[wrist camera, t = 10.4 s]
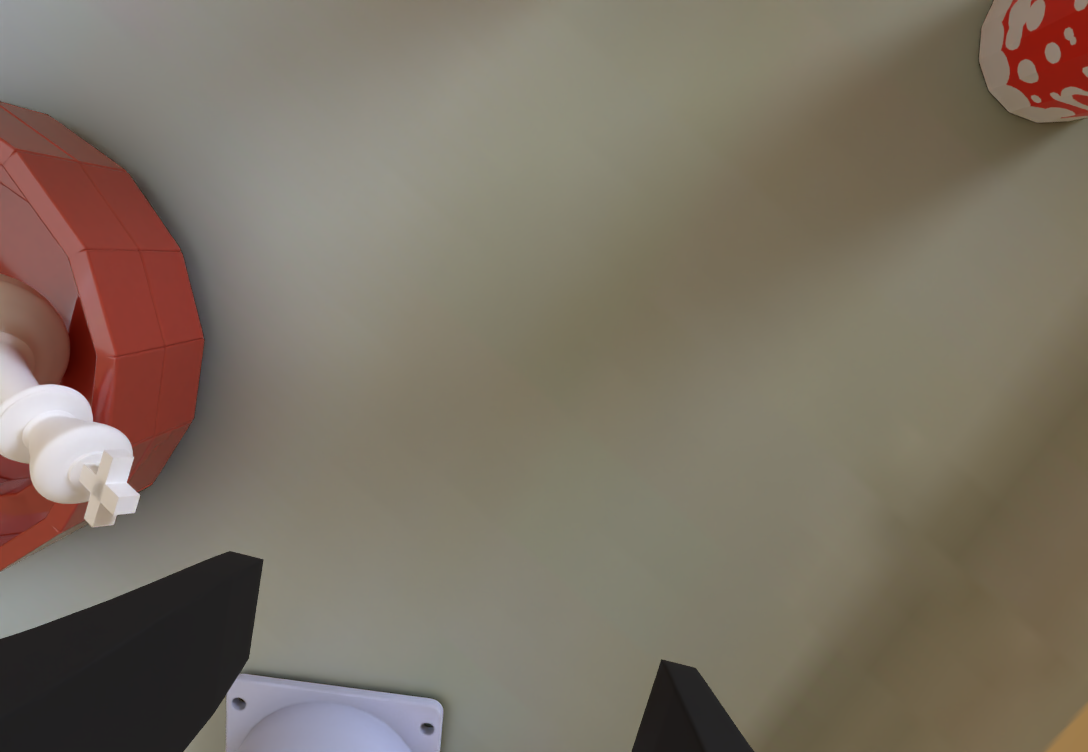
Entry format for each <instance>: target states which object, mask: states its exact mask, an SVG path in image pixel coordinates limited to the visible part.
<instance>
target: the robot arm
mask: <svg viewBox="0 0 1088 752" xmlns="http://www.w3.org/2000/svg"><path fill="white" fill-rule="evenodd" d="M262 565H263V559H259V558H255V557H251V556H247V555H243V554H239V553H235V552H231V551H229V552H226V553H224V554H221V555H218V556H215V557H213V558H210V559H208V560H205V561H203V562H200V563H198V564H196V565H193V566H191V567H188V568H186V569H184V570H181V571H179V572H176V573H174V574H172V575H169V576H167V577H165V578H162V579H160V580H157V581H155V582H152V583H150V584H148V585H145V586H143V587H140V588H138V589H135V590H133V591H130V592H128V593H126V594H123V595H121V596H118V597H116V598H113V599H111V600H108V601H106V602H103V603H100V604H98V605H95V606H92V607H90V608H87V609H84V610H81V611H79V612H76V613H73V614H71V615H68V616H65V617H63V618H60V619H57V620H54V621H52V622H49V623H46V624H44V625H41V626H38V627H36V628H33V629H30V630H27V631H24V632H21V633H18V634H15V635H12V636H9V637H5V638H2V639H0V752H183V751H184V750H185V749H186V748H187V746H188V745H189V744H190V743H191V741H192V740H193V739H194V738H195V736H196V735H197V734H198V733H199V731H200V730H201V729H202V728H203V726H204V725H205V724H206V723H207V721H208V720H209V719H210V718H211V716H212V715H213V714H214V712H215V711H216V709H217V708H218V706H219V705H220V703H221V702H222V700H223V699H224V697H225V696H226V752H440V746H441V735H442V723H443V707H442V705H441V704H440V703H439V702H438V701H437V700H434V699H431V698H423V697H416V696H408V695H401V694H393V693H386V692H378V691H371V690H363V689H356V688H348V687H341V686H333V685H326V684H318V683H310V682H303V681H295V680H288V679H280V678H273V677H265V676H258V675H250V674H239V673H240V672H241V670H242V669H243V667H244V665H245V664H246V662H247V660H248V659H249V654H250V647H251V640H252V633H253V627H254V620H255V613H256V606H257V599H258V593H259V586H260V579H261V572H262ZM238 698H241V699H243V700H244V701H245V703H244V702H241V701H240V700H239V699H238ZM423 723H429V724H431V725H432V726H433V727H427V726H425V725H424V724H423ZM632 752H754V751H753V749H752V748H751V747H750V745H749V744H748V742H747V741H746V740H745V738H744V737H743V735H742V734H741V733H740V731H739V730H738V728H737V727H736V725H735V724H734V722H733V721H732V720H731V718H730V717H729V715H728V714H727V712H726V711H725V709H724V708H723V706H722V705H721V704H720V702H719V701H718V699H717V698H716V696H715V695H714V693H713V692H712V690H711V689H710V687H709V686H708V685H707V683H706V682H705V680H704V679H703V677H702V676H701V675H700V673H699V672H698V671H697V669H696V668H694V667H690V666H686V665H682V664H678V663H674V662H670V661H666V660H662V659H661V663H660V666H659V669H658V672H657V675H656V678H655V681H654V684H653V687H652V690H651V693H650V696H649V700H648V703H647V706H646V709H645V712H644V715H643V718H642V721H641V724H640V727H639V730H638V733H637V737H636V740H635V743H634V746H633V749H632Z"/></svg>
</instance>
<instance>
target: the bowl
mask: <svg viewBox="0 0 1088 752" xmlns="http://www.w3.org/2000/svg"><path fill="white" fill-rule="evenodd" d="M180 251H181V249H180V247H179V246H178V244H177V243H176V241H175V240H174V239H173V237H172V236H171V234H170V233H169V231H168V230H167V228H166V227H165V225H164V224H163V222H162V221H161V220H160V218H159V217H158V215H157V214H156V212H155V211H154V209H153V208H152V206H151V205H150V204H149V202H148V201H147V199H146V198H145V196H144V195H143V193H142V192H141V190H140V189H139V188H138V186H137V185H136V183H135V182H134V180H133V179H132V177H131V176H130V174H129V173H127V171H126V170H125V169H123V168H122V167H121V166H119V165H118V164H116V163H115V162H114V161H112V160H111V159H109V158H108V157H107V156H105V155H104V154H103V153H101V152H100V151H98V150H97V149H96V148H94V147H93V146H91V145H90V144H89V143H87V142H86V141H84V140H83V139H82V138H80V137H79V136H77V135H76V134H75V133H73V132H72V131H70V130H69V129H68V128H66V127H65V126H63V125H62V124H61V123H59V122H58V121H56V120H55V119H54V118H52V117H51V116H49V115H47V114H44V113H41V112H37V111H33V110H30V109H26V108H22V107H19V106H15V105H11V104H8V103H4V102H0V274H3V275H6V276H9V277H12V278H14V279H17V280H19V281H21V282H23V283H25V284H27V285H28V286H30V287H32V288H33V289H35V290H36V291H37V292H39V293H40V294H41V295H42V296H43V297H45V298H46V299H47V300H48V301H49V303H50V304H51V305H52V306H53V307H54V309H55V310H56V312H57V313H58V314H59V316H60V317H61V319H62V321H63V322H64V324H65V327H66V329H67V332H68V335H69V340H70V357H69V362H68V366H67V369H66V371H65V374H64V376H63V378H62V379H61V381H60V383H59V384H58V385H62V386H66V387H69V388H72V389H74V390H76V391H78V392H79V393H81V394H82V395H83V396H84V397H85V398H86V399H87V401H88V402H89V404H90V407H91V410H92V415H93V422H97V423H101V424H105V425H109V426H111V427H114V428H116V429H118V430H119V431H121V432H122V433H123V434H124V435H125V436H126V437H127V438H128V440H129V441H130V443H131V446H132V450H133V457H134V460H133V463H132V466H131V470H130V473H129V476H128V480H127V483H128V484H129V485H130V486H131V487H132V488H133V489H134V490H135V491H136V492H137V493H140V492H141V491H143V490H144V489H146V488H148V487H149V486H151V485H152V484H153V483H154V481H155V480H156V478H157V477H158V475H159V473H160V472H161V470H162V469H163V467H164V465H165V464H166V462H167V461H168V459H169V458H170V456H171V454H172V453H173V451H174V450H175V448H176V446H177V445H178V443H179V442H180V440H181V438H182V437H183V435H184V434H185V432H186V431H187V429H188V427H189V426H190V424H191V423H192V420H193V419H194V415H195V407H196V400H197V393H198V385H199V378H200V370H201V363H202V355H203V348H204V338H203V337H204V335H203V331H202V327H201V324H200V320H199V316H198V312H197V308H196V304H195V300H194V296H193V292H192V288H191V284H190V281H189V277H188V273H187V269H186V265H185V261H184V257H183V253H182V252H180ZM88 502H89V501H87V502H83V503H77V504H62V503H57V502H53V501H50V500H48V499H46V498H45V497H43V496H42V495H41V494H39V493H38V491H37V490H36V489H35V487H34V486H33V483H32V481H31V477H30V468H29V464H27V463H21V462H17V461H14V460H11V459H8V458H6V457H4V456H2V455H1V454H0V572H2V571H3V570H5V569H7V568H9V567H11V566H13V565H14V564H16V563H18V562H20V561H22V560H23V559H25V558H27V557H29V556H31V555H33V554H34V553H36V552H38V551H40V550H42V549H44V548H45V547H47V546H49V545H51V544H53V543H55V542H57V541H58V540H60V539H62V538H64V537H66V536H68V535H69V534H71V533H73V532H75V531H77V530H79V529H80V528H82V527H84V526H86V525H88V524H89V523H88V522H87V521H86V520H85V519H84V516H85V513H86V509H87V506H88Z"/></svg>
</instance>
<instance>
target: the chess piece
mask: <svg viewBox="0 0 1088 752" xmlns="http://www.w3.org/2000/svg"><path fill="white" fill-rule="evenodd" d="M69 357H70V340H69V335H68V332H67V329H66V327H65V324H64V322H63V321H62V319H61V317H60V316H59V314H58V313H57V312H56V310H55V309H54V307H53V306H52V305H51V304H50V303H49V301H48V300H47V299H46V298H45V297H43V296H42V295H41V294H40V293H39V292H37V291H36V290H35V289H33V288H32V287H30V286H28V285H27V284H25V283H23V282H21V281H19V280H17V279H14V278H12V277H9V276H6V275H3V274H0V454H1V455H2V456H4V457H6V458H8V459H11V460H14V461H17V462H21V463H27V464H29V468H30V477H31V481H32V483H33V486H34V487H35V489H36V490H37V491H38V493H39V494H41V495H42V496H43V497H45V498H46V499H48V500H50V501H53V502H57V503H62V504H77V503H83V502H87V501H89V502H88V506H87V509H86V513H85V516H84V519H85V520H86V521H87V522H88V523H89V524H90V525H91V526H92V528H93V527H101V526H109V525H114V523H115V520H116V517H117V515H121V514H130V513H135V511H136V508H137V504H138V501H139V498H140V494H138V493H137V492H136V491H135V490H134V489H133V488H132V487H131V486H130V485H129V484H128V483H127V480H128V476H129V473H130V470H131V466H132V463H133V460H134V457H133V450H132V446H131V443H130V441H129V440H128V438H127V437H126V436H125V435H124V434H123V433H122V432H121V431H119V430H118V429H116V428H114V427H111V426H109V425H105V424H101V423H97V422H93V415H92V410H91V407H90V404H89V402H88V401H87V399H86V398H85V397H84V396H83V395H82V394H81V393H79V392H78V391H76V390H74V389H72V388H69V387H66V386H62V385H58V384H59V383H60V381H61V379H62V378H63V376H64V374H65V371H66V369H67V366H68V362H69Z"/></svg>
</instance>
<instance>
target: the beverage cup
mask: <svg viewBox="0 0 1088 752" xmlns="http://www.w3.org/2000/svg"><path fill="white" fill-rule="evenodd" d="M979 63H980V66H981V69H982V72H983V75H984V78H985V81H986V84H987V87H988V90H989V92H990V93H991V94H992V95H993V96H994V97H995V98H996V99H997V100H998V101H999V102H1000V103H1001V104H1002V105H1003V106H1004V107H1005V109H1006V110H1007V111H1008V112H1010V113H1012V114H1015V115H1018V116H1020V117H1023V118H1026V119H1028V120H1031V121H1034V122H1036V123H1043V122H1061V121H1072V120H1077V119H1082V118H1087V117H1088V0H994V1H993V4H992V6H991V8H990V10H989V12H988V14H987V16H986V19H985V21H984V23H983V25H982V28H981V40H980V52H979Z"/></svg>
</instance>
